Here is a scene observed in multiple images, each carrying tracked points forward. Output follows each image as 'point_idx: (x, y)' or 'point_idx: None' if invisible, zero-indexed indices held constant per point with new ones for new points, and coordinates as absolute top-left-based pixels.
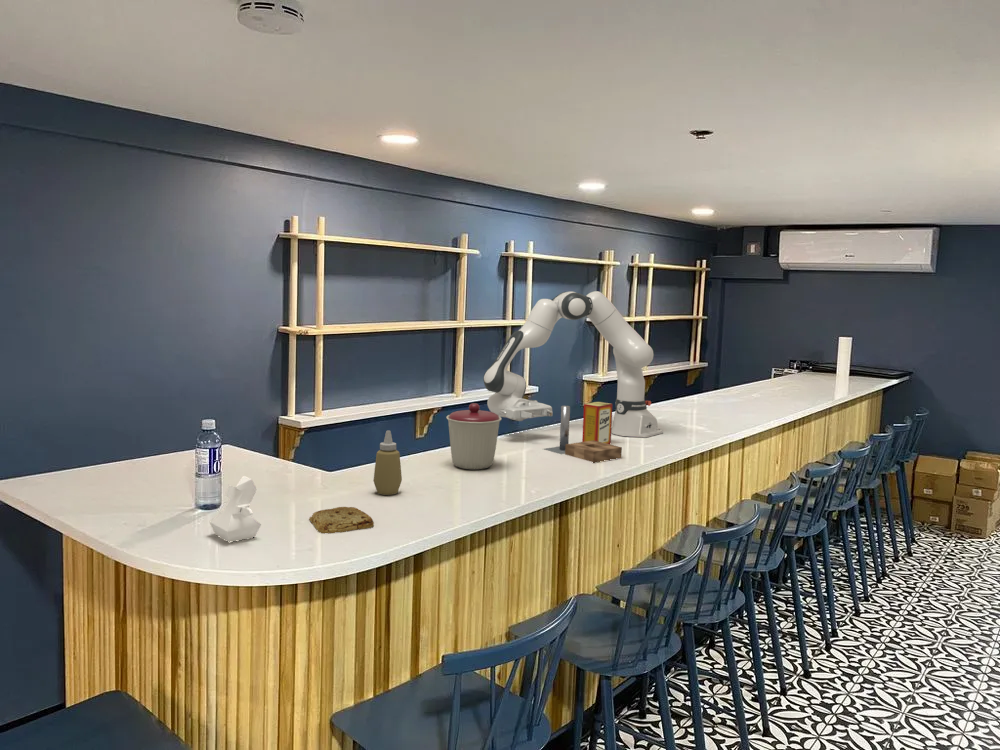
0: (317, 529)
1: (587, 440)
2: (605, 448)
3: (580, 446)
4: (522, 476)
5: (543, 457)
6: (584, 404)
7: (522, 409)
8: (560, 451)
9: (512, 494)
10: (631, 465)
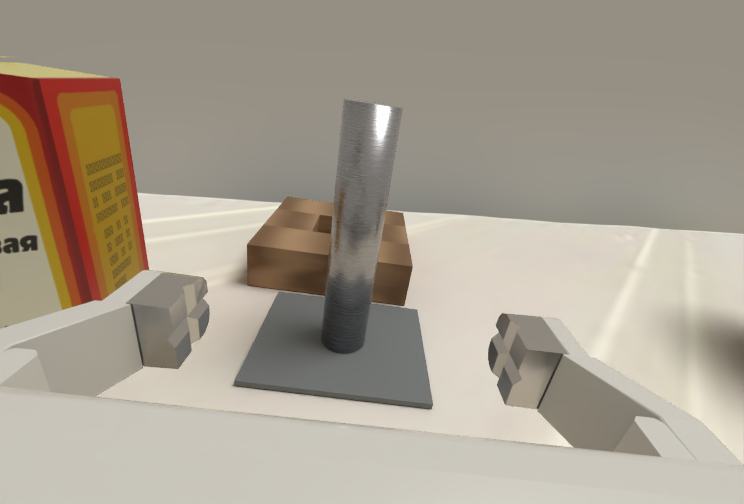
0: None
1: None
2: None
3: (386, 238)
4: (639, 273)
5: None
6: (44, 81)
7: (742, 468)
8: (386, 329)
9: (671, 244)
10: None
